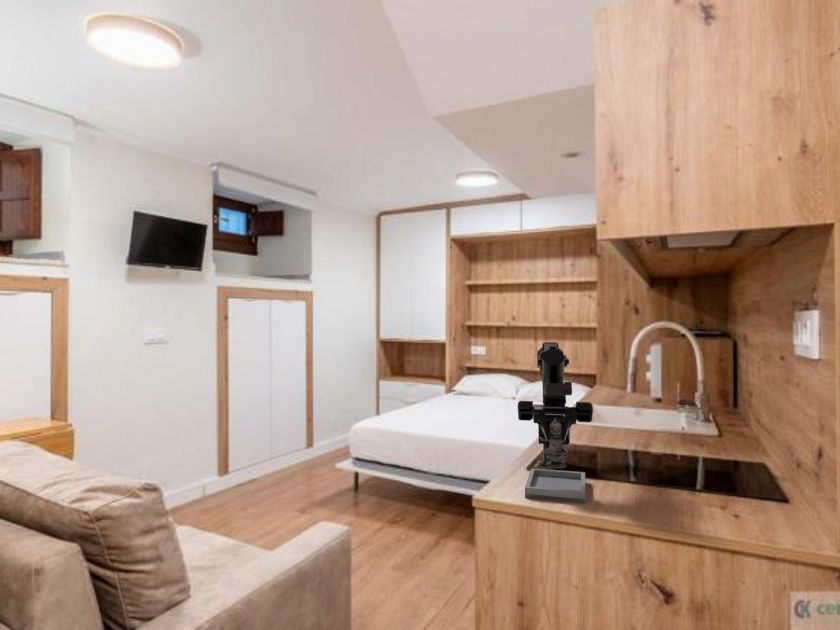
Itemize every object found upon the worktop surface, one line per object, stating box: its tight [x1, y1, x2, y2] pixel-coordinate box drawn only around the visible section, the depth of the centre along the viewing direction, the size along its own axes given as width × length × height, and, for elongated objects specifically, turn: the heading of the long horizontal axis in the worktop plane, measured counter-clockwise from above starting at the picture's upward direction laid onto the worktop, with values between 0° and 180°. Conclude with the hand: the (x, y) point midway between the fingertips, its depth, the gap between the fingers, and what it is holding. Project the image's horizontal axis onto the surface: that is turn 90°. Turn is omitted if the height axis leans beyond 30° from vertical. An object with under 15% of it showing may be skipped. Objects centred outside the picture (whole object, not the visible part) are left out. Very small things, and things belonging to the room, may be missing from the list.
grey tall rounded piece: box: [544, 418, 569, 469], centre depth 128 cm, size 6×6×12 cm
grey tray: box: [524, 468, 586, 504], centre depth 129 cm, size 16×14×2 cm
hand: (555, 439), depth 127 cm, fingers closed on grey tall rounded piece, 4 cm apart
